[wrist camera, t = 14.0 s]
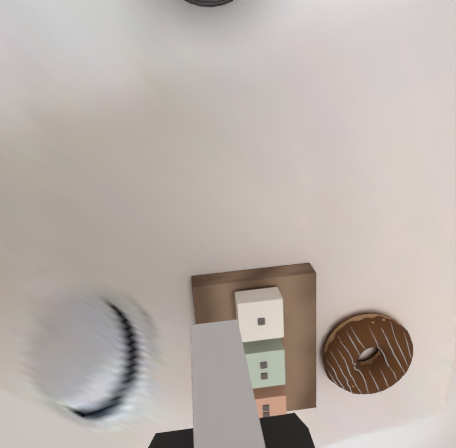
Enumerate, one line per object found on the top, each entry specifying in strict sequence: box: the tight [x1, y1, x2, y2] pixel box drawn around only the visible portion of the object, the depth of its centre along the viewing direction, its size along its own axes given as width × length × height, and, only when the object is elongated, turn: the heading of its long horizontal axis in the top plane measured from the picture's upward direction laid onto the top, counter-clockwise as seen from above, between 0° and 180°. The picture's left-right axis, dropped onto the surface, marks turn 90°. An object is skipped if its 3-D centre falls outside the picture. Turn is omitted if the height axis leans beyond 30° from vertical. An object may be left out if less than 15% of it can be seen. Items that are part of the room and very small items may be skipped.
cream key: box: [234, 287, 284, 342], centre depth 42 cm, size 4×4×3 cm
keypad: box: [192, 263, 316, 411], centre depth 47 cm, size 13×18×4 cm
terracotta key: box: [253, 385, 286, 418], centre depth 47 cm, size 4×4×3 cm
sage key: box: [242, 338, 285, 389], centre depth 45 cm, size 4×4×3 cm
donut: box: [323, 314, 413, 394], centre depth 49 cm, size 11×11×4 cm
